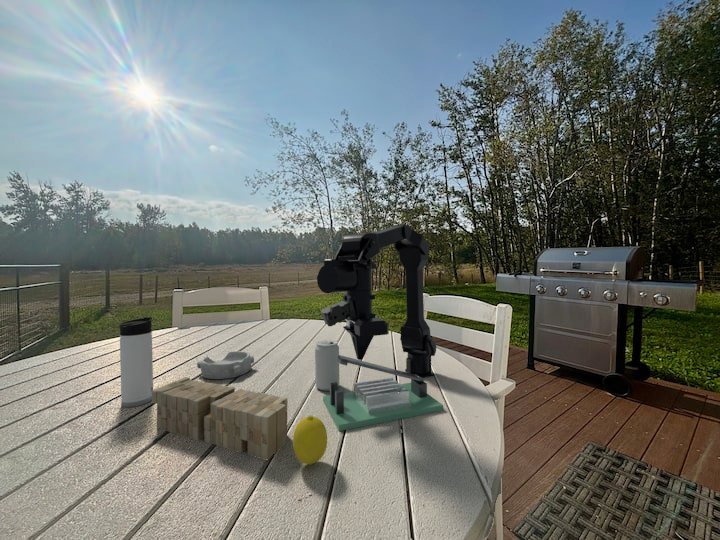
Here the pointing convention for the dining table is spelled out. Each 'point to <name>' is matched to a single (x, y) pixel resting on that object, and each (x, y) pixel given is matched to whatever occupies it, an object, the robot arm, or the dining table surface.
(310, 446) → the lemon
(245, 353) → the dish
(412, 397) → the circuit board
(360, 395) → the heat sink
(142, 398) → the travel mug
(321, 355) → the beverage can
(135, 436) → the dining table surface
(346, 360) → the strap
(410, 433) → the dining table surface
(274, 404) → the block tower
